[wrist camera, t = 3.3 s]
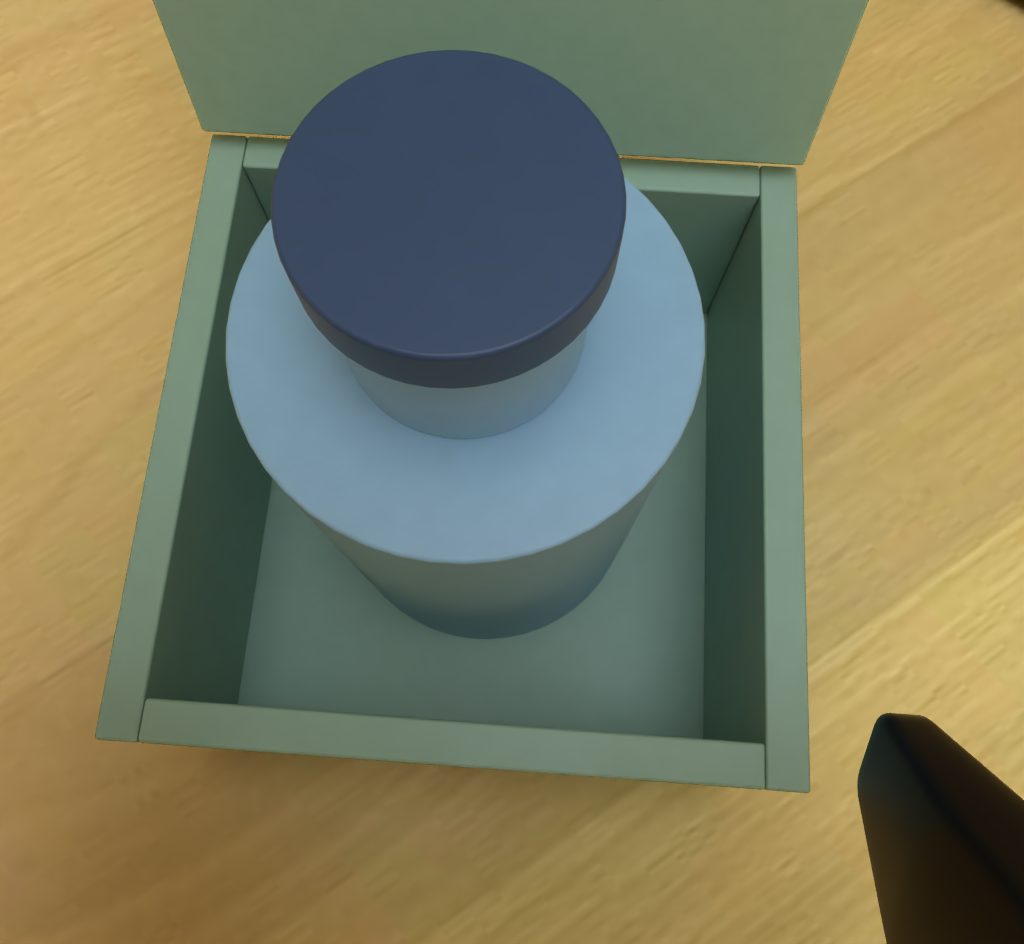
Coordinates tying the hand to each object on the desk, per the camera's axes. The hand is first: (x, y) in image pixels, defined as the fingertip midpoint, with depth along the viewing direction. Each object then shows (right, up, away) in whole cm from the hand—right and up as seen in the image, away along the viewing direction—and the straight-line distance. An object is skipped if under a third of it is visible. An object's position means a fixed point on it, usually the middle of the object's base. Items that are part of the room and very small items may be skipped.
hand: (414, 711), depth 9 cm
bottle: (0, +2, +12) cm, 12 cm away
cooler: (0, +2, +12) cm, 12 cm away
